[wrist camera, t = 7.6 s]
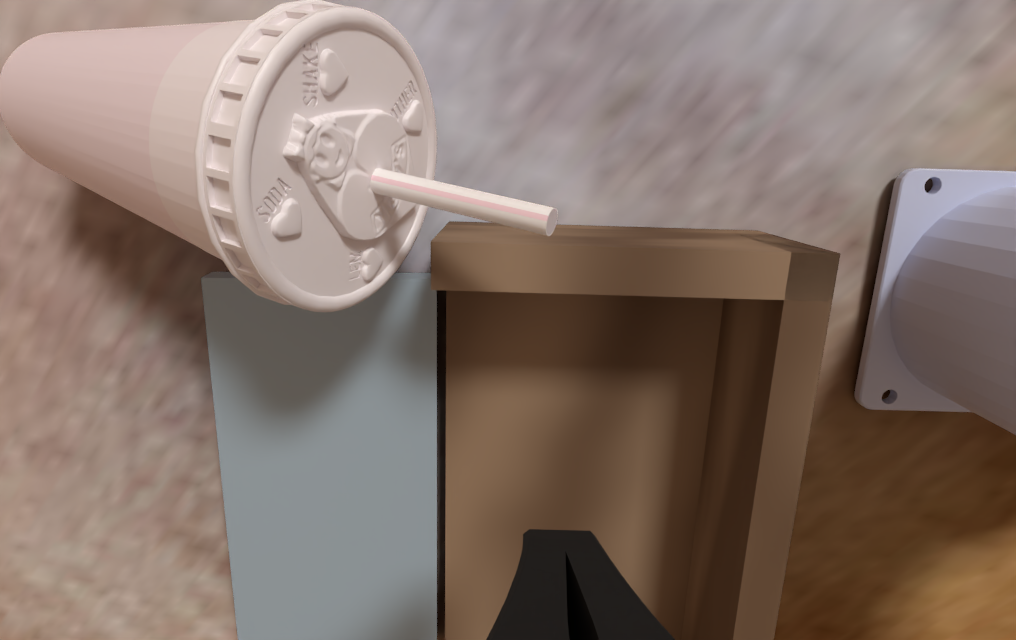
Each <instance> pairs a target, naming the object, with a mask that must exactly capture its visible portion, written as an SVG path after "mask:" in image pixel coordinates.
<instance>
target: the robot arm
mask: <svg viewBox="0 0 1016 640" xmlns="http://www.w3.org/2000/svg"><path fill="white" fill-rule="evenodd" d="M929 178H931V180H932V181H933V186H932V188H931V190H930V191H929V192H926V191H925V187H924V185H925V183H926V181H927V180H928V179H929ZM887 390H890V394H889V396H888V397H887V398H886V399H882V395H883V393H884V392H885V391H887ZM855 399H856V401H857V402H858V403H859V404H860V405H862V406H863V407H865V408H866V409H871V410H906V411H944V412H973V413H975V414H977V415H979V416H981V417H983V418H985V419H987V420H988V421H990V422H992V423H994V424H996V425H998V426H1000V427H1001V428H1003V429H1005V430H1007V431H1009V432H1011V433H1013V434H1014V435H1016V171H984V170H951V169H919V168H912V169H907V170H905V171H903V172H901V173H900V174H899V176H898V177H897V178H896V180H895V183H894V187H893V192H892V197H891V202H890V208H889V213H888V218H887V224H886V229H885V234H884V239H883V245H882V250H881V255H880V260H879V266H878V271H877V276H876V282H875V287H874V292H873V297H872V303H871V308H870V313H869V319H868V324H867V329H866V334H865V340H864V345H863V350H862V355H861V361H860V366H859V371H858V377H857V382H856V387H855ZM486 640H675V639H674V638H673V637H672V635H671V634H670V633H669V632H668V631H667V630H666V629H665V628H664V627H663V625H662V624H661V623H660V622H659V621H658V620H657V619H656V617H655V616H654V615H653V614H652V613H651V612H650V610H649V609H648V608H647V607H646V606H645V604H644V603H643V602H642V600H641V599H640V598H639V597H638V595H637V594H636V593H635V592H634V590H633V589H632V588H631V587H630V585H629V584H628V583H627V581H626V580H625V579H624V577H623V576H622V575H621V573H620V572H619V570H618V569H617V568H616V566H615V565H614V563H613V562H612V561H611V559H610V558H609V556H608V555H607V553H606V552H605V550H604V549H603V547H602V546H601V544H600V543H599V541H598V540H597V538H596V536H595V535H594V534H593V533H592V532H591V531H584V530H543V529H529V530H528V531H526V532H525V533H524V534H523V547H522V553H521V557H520V561H519V564H518V567H517V571H516V574H515V576H514V579H513V582H512V584H511V587H510V590H509V592H508V595H507V597H506V600H505V602H504V604H503V606H502V608H501V611H500V613H499V615H498V617H497V619H496V621H495V623H494V625H493V627H492V629H491V631H490V633H489V635H488V637H487V639H486Z"/></svg>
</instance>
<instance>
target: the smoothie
mask: <svg viewBox="0 0 1016 640" xmlns="http://www.w3.org/2000/svg"><path fill="white" fill-rule="evenodd" d="M0 112H1V115H2V118H3V121H4V123H5V125H6V128H7V129H8V131H9V133H10V135H11V136H12V138H13V139H14V140H15V142H16V143H17V144H18V145H19V146H20V148H21V149H22V150H23V151H25V152H26V153H27V154H28V155H29V156H30V157H32V158H33V159H34V160H36V161H37V162H39V163H40V164H42V165H44V166H46V167H48V168H50V169H51V170H53V171H55V172H57V173H59V174H61V175H63V176H65V177H67V178H68V179H70V180H72V181H74V182H76V183H78V184H80V185H82V186H84V187H86V188H87V189H89V190H91V191H93V192H95V193H97V194H99V195H101V196H103V197H104V198H106V199H108V200H110V201H112V202H114V203H116V204H118V205H120V206H122V207H123V208H125V209H127V210H129V211H131V212H133V213H135V214H137V215H139V216H140V217H142V218H144V219H146V220H148V221H150V222H152V223H154V224H156V225H157V226H159V227H161V228H163V229H165V230H167V231H169V232H171V233H173V234H175V235H176V236H178V237H180V238H182V239H184V240H186V241H188V242H190V243H192V244H193V245H195V246H197V247H199V248H201V249H202V250H204V251H206V252H207V253H209V254H211V255H213V256H215V257H217V258H219V259H221V260H223V262H224V263H225V265H226V266H227V268H228V269H229V271H230V273H231V274H232V275H233V276H235V277H236V278H237V279H238V280H239V281H241V282H242V283H243V284H244V285H245V286H247V287H248V288H249V289H250V290H251V291H253V292H254V293H255V294H256V295H258V296H261V297H264V298H267V299H269V300H272V301H275V302H278V303H281V304H283V305H293V306H296V307H299V308H302V309H305V310H309V311H313V312H334V311H339V310H343V309H346V308H349V307H352V306H354V305H356V304H358V303H360V302H362V301H364V300H365V299H367V298H369V297H370V296H371V295H372V294H374V293H375V292H376V291H377V290H379V289H380V288H381V287H382V286H383V285H385V283H386V282H387V281H388V280H389V279H390V278H391V277H392V275H393V274H394V273H395V272H396V271H397V270H398V269H399V267H400V266H401V264H402V262H403V261H404V259H405V258H406V256H407V255H408V253H409V252H410V250H411V248H412V246H413V244H414V242H415V240H416V238H417V236H418V234H419V232H420V229H421V226H422V224H423V221H424V218H425V215H426V213H427V210H428V207H432V208H437V209H441V210H445V211H449V212H453V213H457V214H461V215H465V216H469V217H473V218H477V219H481V220H485V221H490V222H494V223H498V224H502V225H506V226H510V227H514V228H518V229H522V230H526V231H530V232H534V233H538V234H542V235H547V236H550V235H551V234H552V233H553V231H554V229H555V226H556V223H557V216H558V214H557V209H556V208H553V207H549V206H544V205H540V204H535V203H531V202H527V201H522V200H518V199H513V198H509V197H504V196H500V195H495V194H491V193H487V192H482V191H478V190H473V189H469V188H464V187H460V186H456V185H451V184H447V183H442V182H438V181H434V177H435V169H436V157H437V132H436V120H435V112H434V107H433V102H432V97H431V92H430V89H429V86H428V83H427V80H426V77H425V74H424V71H423V69H422V67H421V65H420V63H419V61H418V58H417V56H416V55H415V53H414V51H413V50H412V48H411V46H410V45H409V44H408V42H407V41H406V39H405V38H404V37H403V36H402V35H401V33H400V32H399V31H398V30H397V29H396V28H395V27H394V26H393V25H391V24H390V23H389V22H388V21H386V20H385V19H383V18H382V17H381V16H379V15H377V14H375V13H373V12H371V11H368V10H365V9H362V8H356V7H350V6H343V5H339V4H335V3H330V2H326V1H322V0H300V1H294V2H289V3H283V4H279V5H278V6H276V7H275V8H273V9H271V10H270V11H268V12H267V13H265V14H263V15H262V16H260V17H259V18H257V19H256V20H239V21H231V22H218V23H201V24H185V25H169V26H153V27H137V28H120V29H104V30H88V31H72V32H56V33H47V34H43V35H39V36H36V37H34V38H31V39H29V40H28V41H26V42H24V43H23V44H21V45H20V46H19V47H18V48H17V49H16V50H14V52H13V53H12V54H11V55H10V56H9V58H8V59H7V61H6V63H5V65H4V67H3V69H2V72H1V75H0Z"/></svg>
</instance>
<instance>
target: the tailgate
mask: <svg viewBox="0 0 1016 640" xmlns="http://www.w3.org/2000/svg"><path fill="white" fill-rule="evenodd" d="M201 284H202V293H203V303H204V313H205V323H206V333H207V342H208V352H209V362H210V372H211V381H212V391H213V401H214V411H215V420H216V430H217V440H218V450H219V459H220V469H221V479H222V489H223V498H224V508H225V518H226V528H227V538H228V547H229V557H230V567H231V577H232V586H233V596H234V606H235V616H236V625H237V635H238V640H437V290H431V273H394V274H393V275H392V277H391V278H390V279H389V280H388V281H387V282H386V283H385V285H383V286H382V287H381V288H380V289H379V290H377V291H376V292H375V293H374V294H372V295H371V296H370V297H369V298H367V299H365V300H364V301H362V302H360V303H358V304H356V305H354V306H352V307H349V308H346V309H343V310H339V311H334V312H313V311H309V310H305V309H302V308H299V307H296V306H293V305H283V304H281V303H278V302H275V301H272V300H269V299H267V298H264V297H261V296H258V295H256V294H255V293H254V292H253V291H251V290H250V289H249V288H248V287H247V286H245V285H244V284H243V283H242V282H241V281H239V280H238V279H237V278H236V277H235V276H233V275H232V274H231V273H230V272H211V273H209V274H207V275H205V276H203V277H201Z"/></svg>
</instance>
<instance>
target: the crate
mask: <svg viewBox="0 0 1016 640" xmlns="http://www.w3.org/2000/svg"><path fill="white" fill-rule="evenodd" d="M839 258H840V253H836V252H833V251H829V250H825V249H822V248H818V247H815V246H811V245H807V244H804V243H800V242H797V241H793V240H789V239H786V238H782V237H778V236H775V235H771V234H768V233H764V232H760V231H752V230H718V229H685V228H651V227H617V226H584V225H556V226H555V229H554V231H553V233H552V234H551V235H550V236H547V235H542V234H538V233H534V232H530V231H526V230H522V229H518V228H514V227H510V226H506V225H502V224H498V223H483V222H449V223H448V224H447V225H446V226H445V227H444V228H443V229H442V230H441V231H440V232H439V233H438V234H437V236H436V237H435V238H434V239H433V240H432V241H431V290H446V501H445V640H486V639H487V637H488V635H489V633H490V631H491V629H492V627H493V625H494V623H495V621H496V619H497V617H498V615H499V613H500V611H501V608H502V606H503V604H504V602H505V600H506V597H507V595H508V592H509V590H510V587H511V584H512V582H513V579H514V576H515V574H516V571H517V567H518V564H519V561H520V557H521V553H522V547H523V534H524V533H525V532H526V531H528V530H529V529H543V530H584V531H591V532H592V533H593V534H594V535H595V536H596V538H597V540H598V541H599V543H600V544H601V546H602V547H603V549H604V550H605V552H606V553H607V555H608V556H609V558H610V559H611V561H612V562H613V563H614V565H615V566H616V568H617V569H618V570H619V572H620V573H621V575H622V576H623V577H624V579H625V580H626V581H627V583H628V584H629V585H630V587H631V588H632V589H633V590H634V592H635V593H636V594H637V595H638V597H639V598H640V599H641V600H642V602H643V603H644V604H645V606H646V607H647V608H648V609H649V610H650V612H651V613H652V614H653V615H654V616H655V617H656V619H657V620H658V621H659V622H660V623H661V624H662V625H663V627H664V628H665V629H666V630H667V631H668V632H669V633H670V634H671V635H672V637H673V638H674V639H675V640H774V636H775V630H776V624H777V618H778V612H779V607H780V601H781V595H782V589H783V583H784V578H785V572H786V566H787V560H788V554H789V548H790V543H791V537H792V531H793V525H794V519H795V514H796V508H797V502H798V496H799V490H800V485H801V479H802V473H803V467H804V461H805V456H806V450H807V444H808V438H809V432H810V427H811V421H812V415H813V409H814V403H815V397H816V392H817V386H818V380H819V374H820V368H821V363H822V357H823V351H824V345H825V339H826V334H827V328H828V322H829V316H830V310H831V305H832V299H833V293H834V287H835V281H836V275H837V270H838V264H839Z"/></svg>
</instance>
